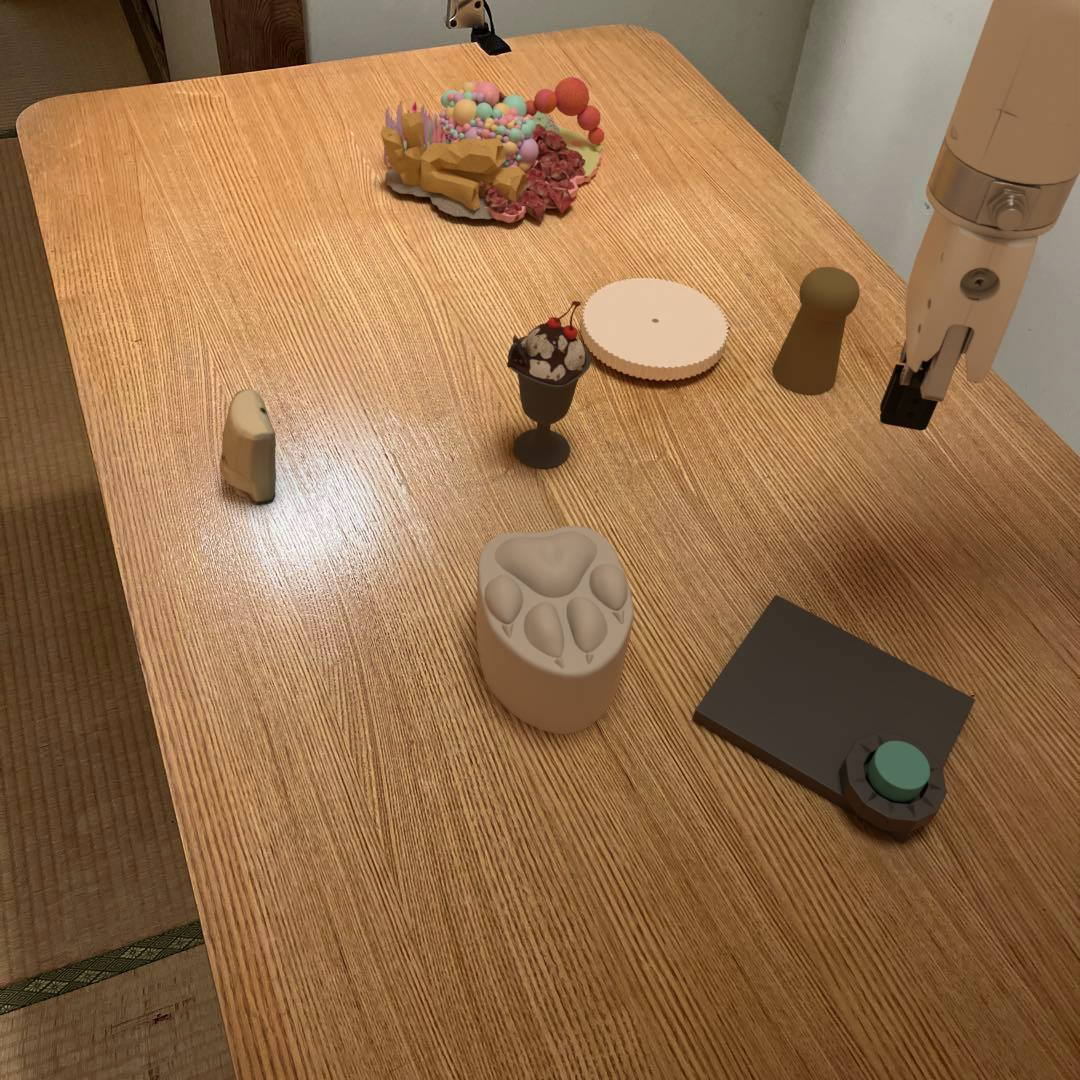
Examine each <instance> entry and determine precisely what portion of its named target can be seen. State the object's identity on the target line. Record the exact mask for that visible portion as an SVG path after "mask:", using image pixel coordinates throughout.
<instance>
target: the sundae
mask: <svg viewBox="0 0 1080 1080" xmlns="http://www.w3.org/2000/svg"><path fill="white" fill-rule="evenodd" d="M581 305H582V302H581V301H577V300H574V301H572V302H571V305H570V306H569V308H568V310H567V311H566V312H565V313H563V314H562V315H561V316H560V317H556V316H551V317H550V318H549V319H548V320H547V321H546V322H545V323H540V324H538V325H536V326H535V327H534V328H533V329H531V330H530V331H528V333H527V335H524V336H522V337H519V338H518V337H517V335H516V334H515V335H513V337H512V344H511V345H510V348H509V351H508V354H507V363H506V366H507V368H509V369H510V370H511V371H512V372H514V373H516V374H517V378H518V389H519V398H520V403H521V408H522V411H523V413H524V415H525V416H526V417H528V419H530V420H532V421H533V422H535V423H536V428H530V429H528V430H525V431H524V432H522V433H520V434H519V435H518V436H517V437H516V439H514V443H513V447H512V448H513V452H514V454H515V457H517V459H519V461H521V462H522V463H523V464H525V465H527V466H529V467H532V468H535V469H536V468H537V469H551V468H555V467H558V466H560V465H562V464H563V463H564V462H566V461H567V459H568V458H569V456H570V454H571V446H570V443H569V441H568V439H567V438H566V437H565V436H564V435H562V434H561V433H559V432H557V431H554V430H552V429H551V426H552V425H553V424H555V423H557V422H560V421H561V420H563V419H564V418H565V417H566V416H567V414H568V413H569V410H570V408H571V406H572V403H573V400H574V397H575V392H576V389H577V385H578V382H579V379H580V378H582V377H583V376H584V375H585V374H586V372H587V371H588V370H589V369H590V367H591V365H592V359H591V355H590V353H589V352H588V349H587V347H585V346H584V344H583V343H582V341H581V340H580V338H579V337H578V334H579V332H578V329H577V327H575V326H574V325H573V316H574V314H575V311H576V309H577V307H579V306H581ZM573 307H574V308H573ZM572 308H573V310H572V312H571V315H570V319H569V324H567V325H565V326H562V321H561V319H562V318H564V317H565V316H567V315H568V313H569V312H570V311H571V309H572Z"/></svg>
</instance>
